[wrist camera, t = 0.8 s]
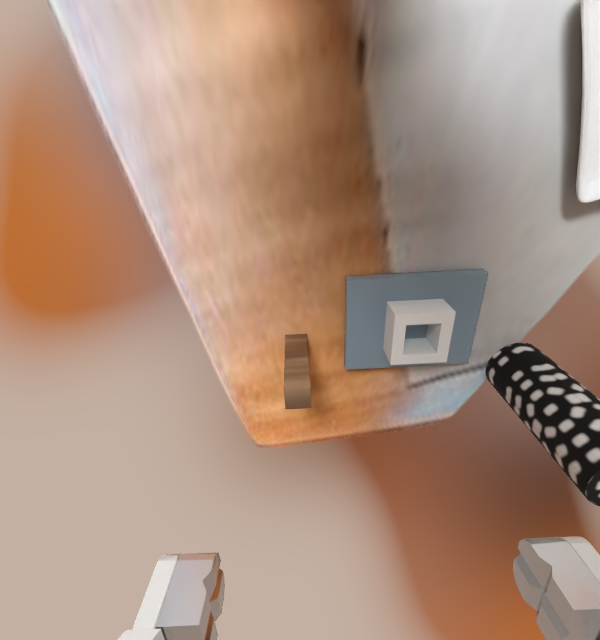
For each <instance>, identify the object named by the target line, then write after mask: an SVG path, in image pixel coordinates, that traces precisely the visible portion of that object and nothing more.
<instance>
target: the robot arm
mask: <svg viewBox="0 0 600 640" xmlns="http://www.w3.org/2000/svg"><path fill="white" fill-rule="evenodd" d="M518 549H519V551H520V552H521V554H520V555H519V556H518V557H516V558H515V559H514V563H513V571H514V578H515V581H516V584H517V586H518V589H519V591H520V593H521V595H522V597H523V598H524V600H525V601H526V602H527V603H528V604H529V605H531V606H532V607H533V608H534V609H535V610H536V622H537V624H538V626H539V628H540V630H541V632H542V633H543V635H544V637H545V639H546V640H600V555H599V554H598V553H597V552H596V551H595V549H594V548H593V547H592V545H591V544H590V543H589V542H588V541H587V540H585V539H584V538H583V537H578V536H574V537H549V538H533V539H523V540H521V541H520V542H519V545H518ZM220 561H221V560H220V556H219V553H198V554H197V553H196V554H166V555H162V556H161V557H160V559H159V560H158V562H157V564H156V567H155V569H154V572H153V575H152V578H151V580H150V583H149V585H148V589H147V591H146V594H145V597H144V599H143V602H142V604H141V607H140V610H139V612H138V615H137V618H136V620H135V623H134V626H133V628H132V629H129V630H126V631H125V632H124V633H123V634H122V635H121V636H120V637H119V639H118V640H217V630H216V626H215V621H216V620H217V618H218V617H219V616H220V614H221V612H222V606H223V600H224V586H225V585H224V574H223V571H222V570H221V569H219V566H220Z"/></svg>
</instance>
